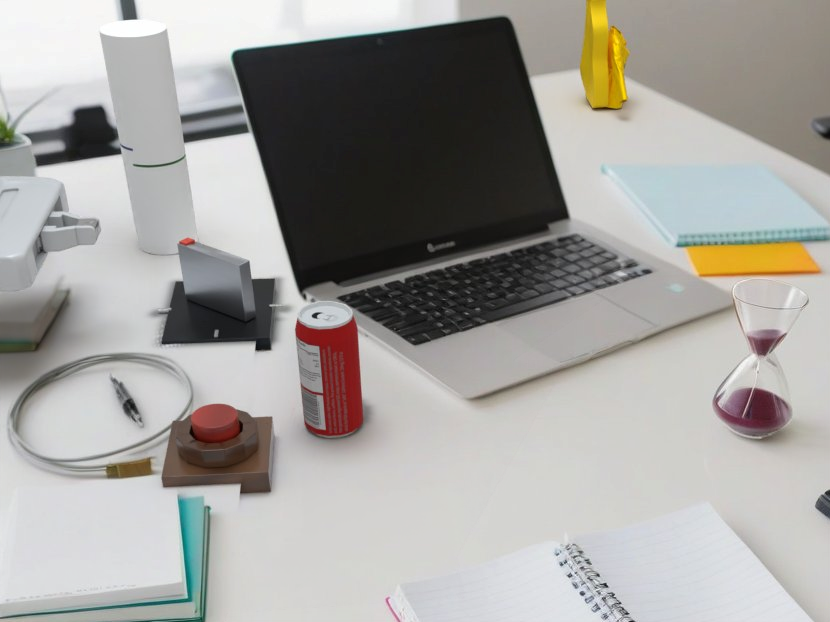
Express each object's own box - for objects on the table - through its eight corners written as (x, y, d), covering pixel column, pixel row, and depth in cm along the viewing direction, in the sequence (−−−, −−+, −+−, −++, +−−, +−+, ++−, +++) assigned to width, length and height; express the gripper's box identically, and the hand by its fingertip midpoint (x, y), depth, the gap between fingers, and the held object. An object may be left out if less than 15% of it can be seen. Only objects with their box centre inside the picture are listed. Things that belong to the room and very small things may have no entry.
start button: (191, 445, 100) (188, 428, 99) (195, 421, 103) (193, 404, 102) (238, 443, 100) (236, 426, 99) (241, 419, 103) (239, 402, 102)
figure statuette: (636, 121, 182) (650, -30, 168) (587, 122, 181) (597, -30, 167) (613, 86, 196) (624, -56, 182) (568, 87, 195) (576, -56, 181)
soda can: (372, 415, 111) (365, 302, 104) (349, 445, 107) (340, 329, 100) (319, 404, 112) (309, 292, 105) (294, 434, 108) (282, 319, 101)
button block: (165, 498, 100) (157, 459, 97) (176, 440, 107) (169, 403, 104) (270, 492, 101) (266, 454, 98) (274, 436, 108) (270, 399, 105)
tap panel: (281, 349, 121) (280, 335, 120) (152, 354, 119) (149, 340, 118) (285, 289, 132) (284, 276, 131) (167, 293, 130) (165, 280, 129)
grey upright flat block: (256, 316, 123) (249, 257, 119) (245, 322, 122) (238, 263, 118) (196, 293, 127) (187, 236, 123) (185, 299, 126) (176, 241, 122)
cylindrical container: (171, 225, 145) (137, 16, 130) (210, 240, 142) (180, 27, 127) (126, 244, 141) (85, 29, 126) (165, 260, 137) (128, 40, 122)
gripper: (-90, 245, 102) (72, 242, 104) (-31, 165, 118) (108, 164, 120) (-71, 310, 106) (85, 306, 107) (-16, 224, 122) (118, 221, 124)
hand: (97, 230), depth 114 cm, fingers closed
